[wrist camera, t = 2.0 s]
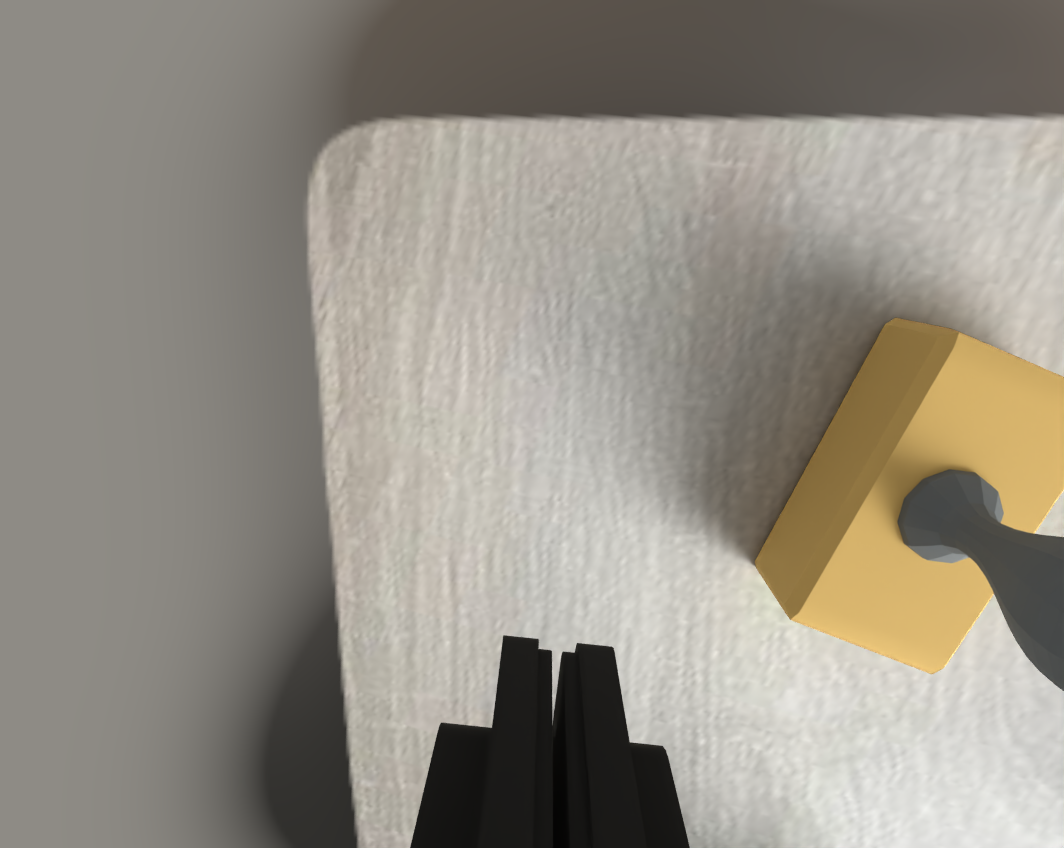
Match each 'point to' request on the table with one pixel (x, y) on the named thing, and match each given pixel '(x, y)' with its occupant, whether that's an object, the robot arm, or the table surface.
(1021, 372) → the rubber stamp
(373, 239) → the table surface
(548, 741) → the robot arm
